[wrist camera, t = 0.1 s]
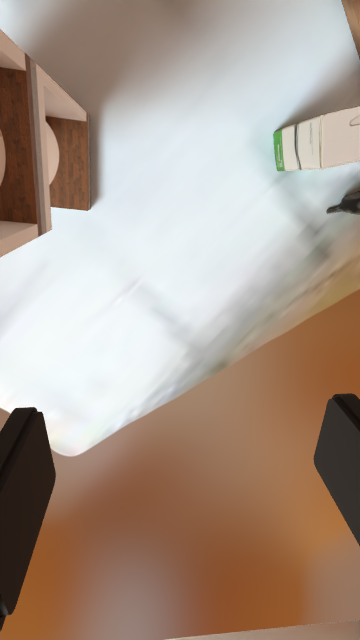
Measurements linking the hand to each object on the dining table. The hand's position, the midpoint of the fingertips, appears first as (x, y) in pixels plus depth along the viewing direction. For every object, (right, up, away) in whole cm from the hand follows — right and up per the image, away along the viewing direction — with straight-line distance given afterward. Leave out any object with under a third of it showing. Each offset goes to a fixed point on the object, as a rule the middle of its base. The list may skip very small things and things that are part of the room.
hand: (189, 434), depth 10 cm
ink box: (+16, +27, +31) cm, 44 cm away
